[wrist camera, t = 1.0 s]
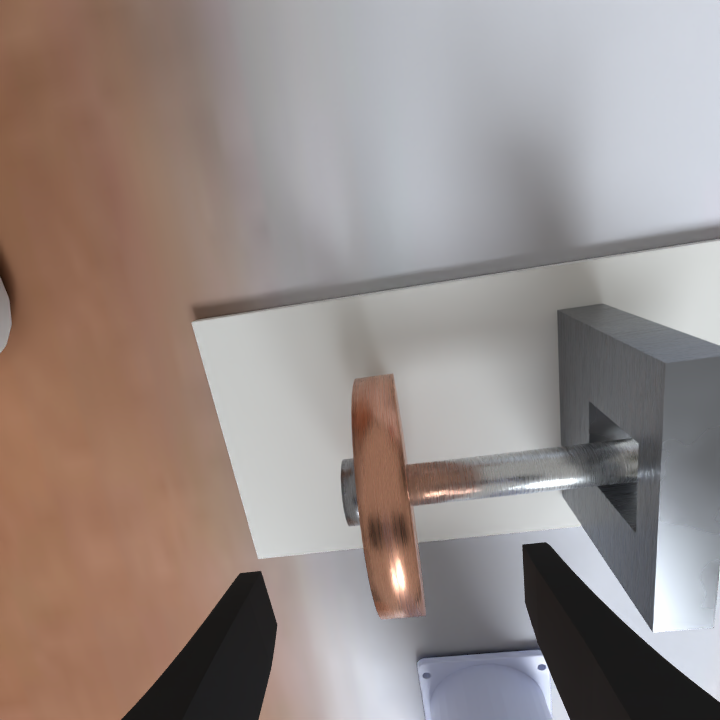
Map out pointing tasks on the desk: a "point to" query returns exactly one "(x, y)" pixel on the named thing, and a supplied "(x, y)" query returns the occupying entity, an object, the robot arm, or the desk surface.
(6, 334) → the can
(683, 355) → the square hole plate
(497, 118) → the desk surface
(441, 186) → the desk surface
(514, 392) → the base board
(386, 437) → the bolt with copper washer
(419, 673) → the robot arm
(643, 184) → the desk surface
